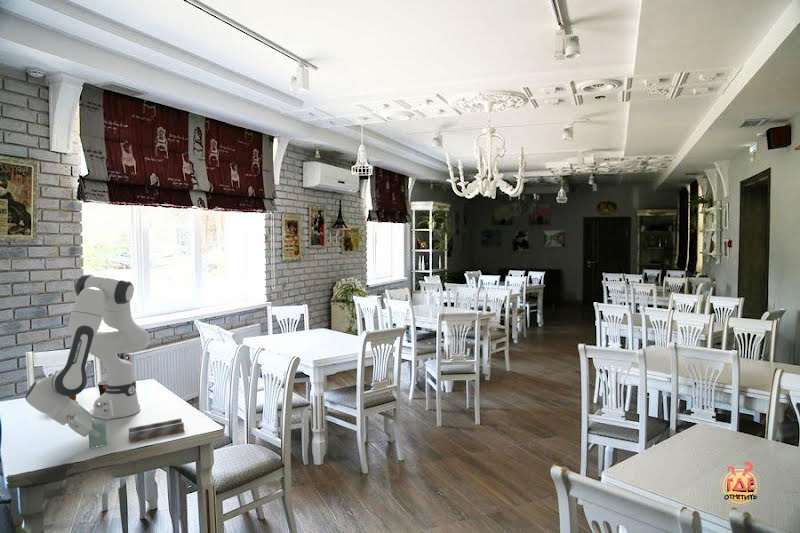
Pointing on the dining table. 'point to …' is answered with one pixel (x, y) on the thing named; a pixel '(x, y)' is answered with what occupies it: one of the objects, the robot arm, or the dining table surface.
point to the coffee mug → (101, 388)
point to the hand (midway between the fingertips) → (99, 432)
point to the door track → (156, 430)
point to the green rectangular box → (102, 438)
